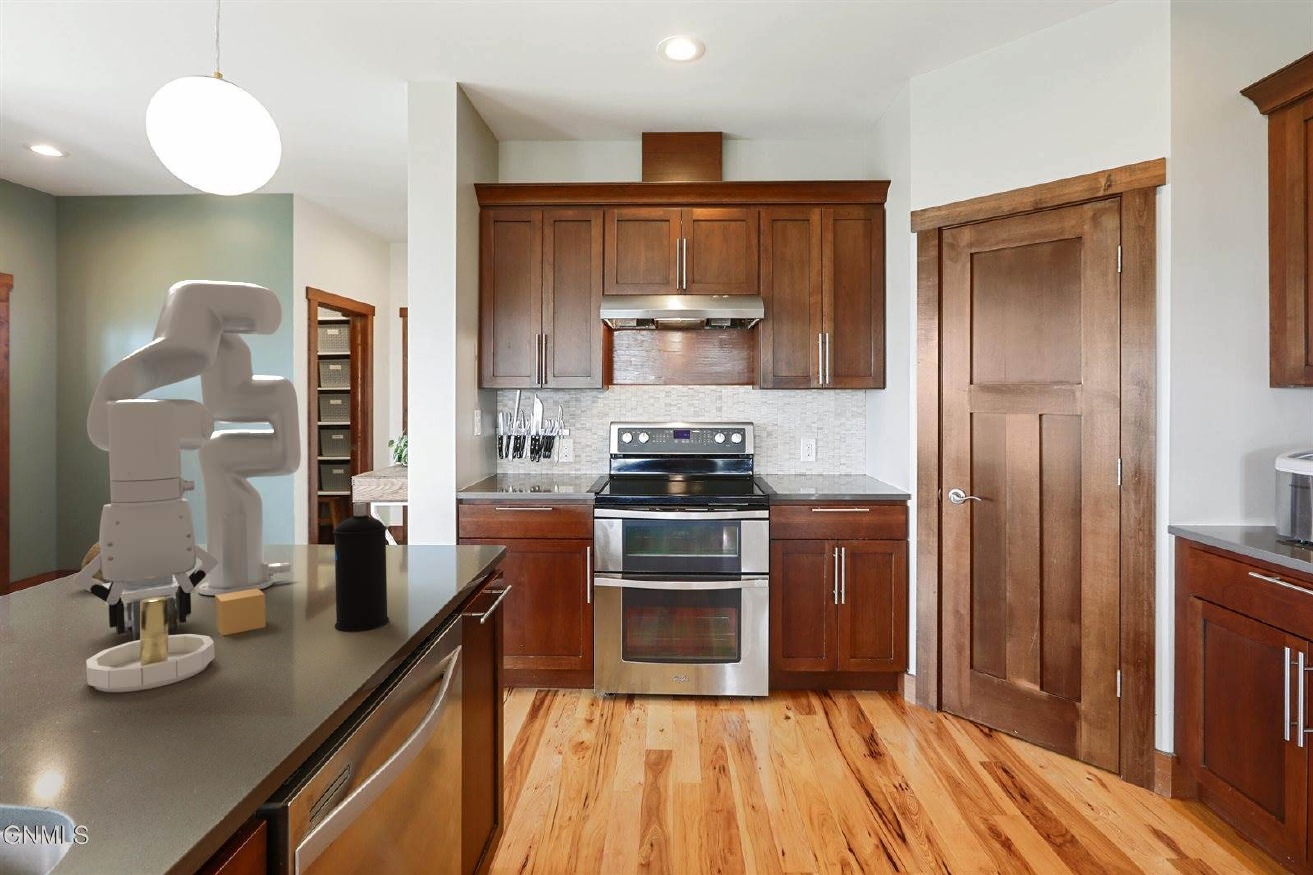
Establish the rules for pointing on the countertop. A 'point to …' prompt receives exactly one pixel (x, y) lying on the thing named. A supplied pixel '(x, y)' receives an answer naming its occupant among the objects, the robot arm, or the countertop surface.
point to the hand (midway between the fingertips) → (151, 624)
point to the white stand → (146, 590)
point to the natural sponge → (89, 557)
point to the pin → (153, 630)
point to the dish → (125, 674)
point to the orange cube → (240, 611)
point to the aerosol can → (360, 572)
